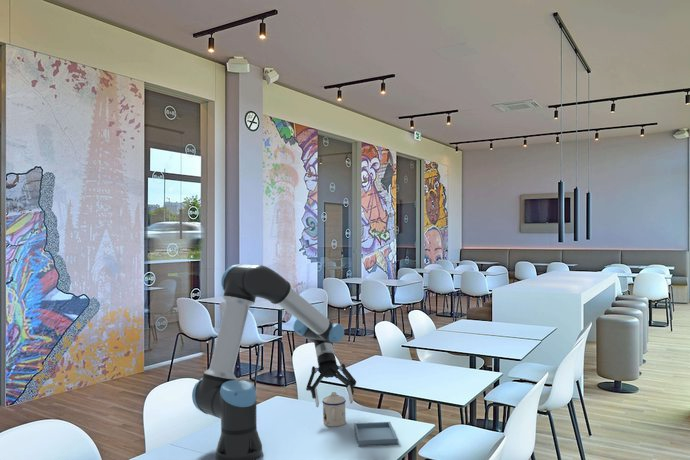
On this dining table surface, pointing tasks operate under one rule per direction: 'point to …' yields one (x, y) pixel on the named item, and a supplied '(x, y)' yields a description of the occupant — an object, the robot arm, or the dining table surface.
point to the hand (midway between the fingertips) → (334, 403)
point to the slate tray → (375, 434)
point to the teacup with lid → (334, 410)
